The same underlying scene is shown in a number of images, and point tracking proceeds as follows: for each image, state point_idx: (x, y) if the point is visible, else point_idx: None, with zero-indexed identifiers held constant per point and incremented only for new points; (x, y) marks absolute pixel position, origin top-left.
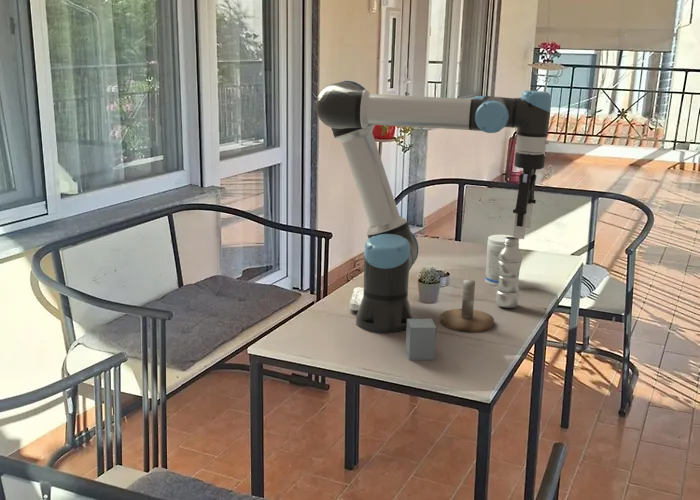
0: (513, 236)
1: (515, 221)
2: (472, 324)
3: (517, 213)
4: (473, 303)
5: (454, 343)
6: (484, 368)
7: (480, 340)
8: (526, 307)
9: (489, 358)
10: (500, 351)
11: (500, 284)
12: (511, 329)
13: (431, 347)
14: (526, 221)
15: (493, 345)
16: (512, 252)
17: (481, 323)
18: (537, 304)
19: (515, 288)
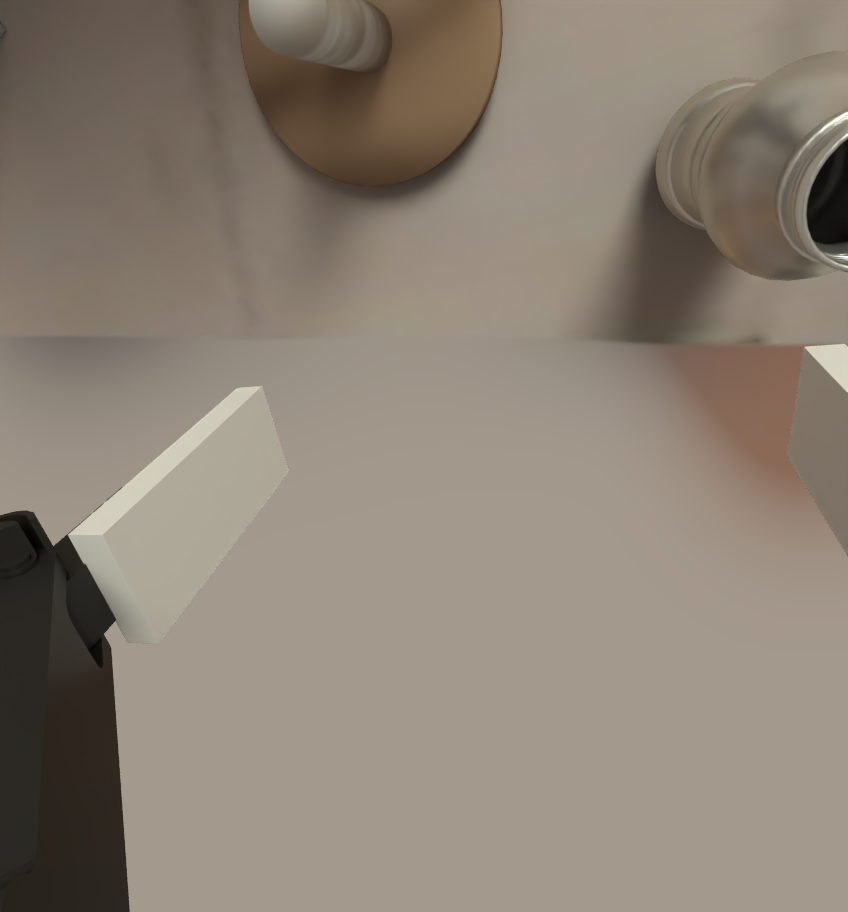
0: (232, 394)
1: (143, 477)
2: (290, 108)
3: (82, 551)
4: (342, 67)
5: (126, 97)
6: (31, 279)
7: (219, 187)
8: None
9: (103, 271)
10: (176, 288)
11: (701, 119)
12: (401, 267)
13: None
14: (817, 452)
15: (207, 250)
16: (744, 219)
17: (326, 144)
18: (813, 295)
19: (700, 220)
